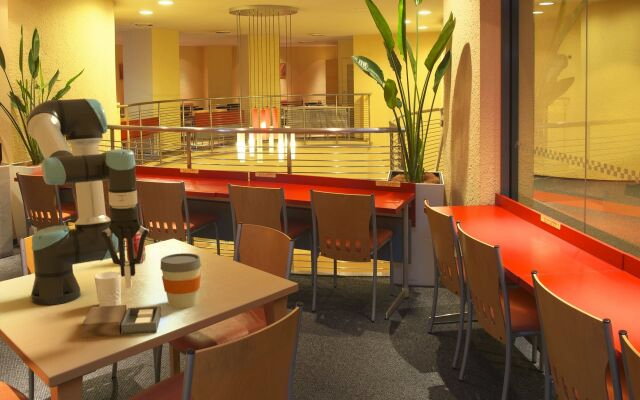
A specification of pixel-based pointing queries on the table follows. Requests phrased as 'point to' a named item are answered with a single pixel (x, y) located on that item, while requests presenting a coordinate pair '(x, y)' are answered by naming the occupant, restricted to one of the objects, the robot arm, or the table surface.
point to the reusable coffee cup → (181, 279)
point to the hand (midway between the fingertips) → (129, 286)
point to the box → (140, 328)
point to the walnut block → (104, 321)
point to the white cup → (108, 288)
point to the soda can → (136, 247)
